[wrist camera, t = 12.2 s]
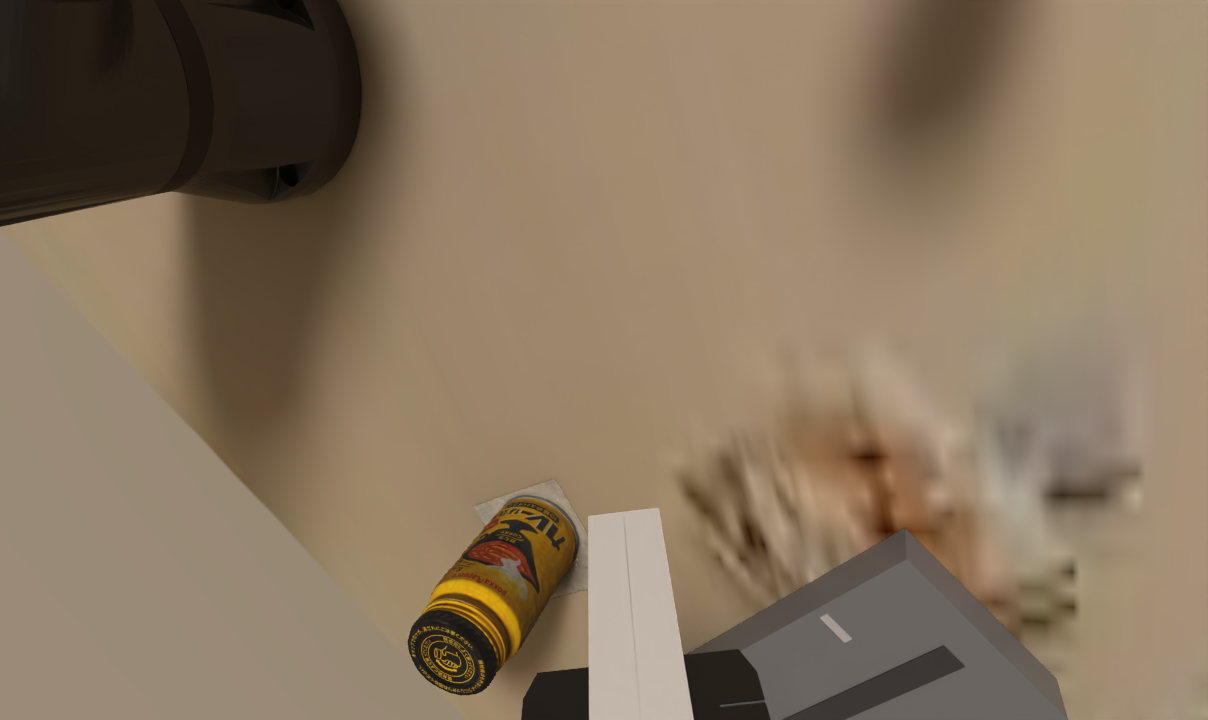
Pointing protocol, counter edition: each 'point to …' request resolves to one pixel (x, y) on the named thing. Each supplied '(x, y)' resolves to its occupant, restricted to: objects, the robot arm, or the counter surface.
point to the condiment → (500, 588)
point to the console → (890, 647)
